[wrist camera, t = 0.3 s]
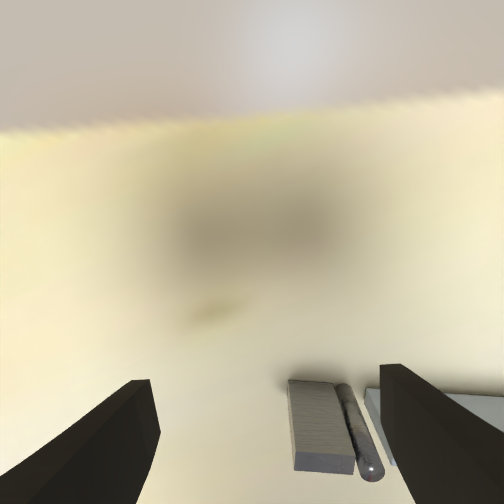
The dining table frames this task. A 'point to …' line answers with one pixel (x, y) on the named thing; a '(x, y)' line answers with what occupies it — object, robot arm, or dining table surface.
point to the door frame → (330, 431)
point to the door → (486, 407)
